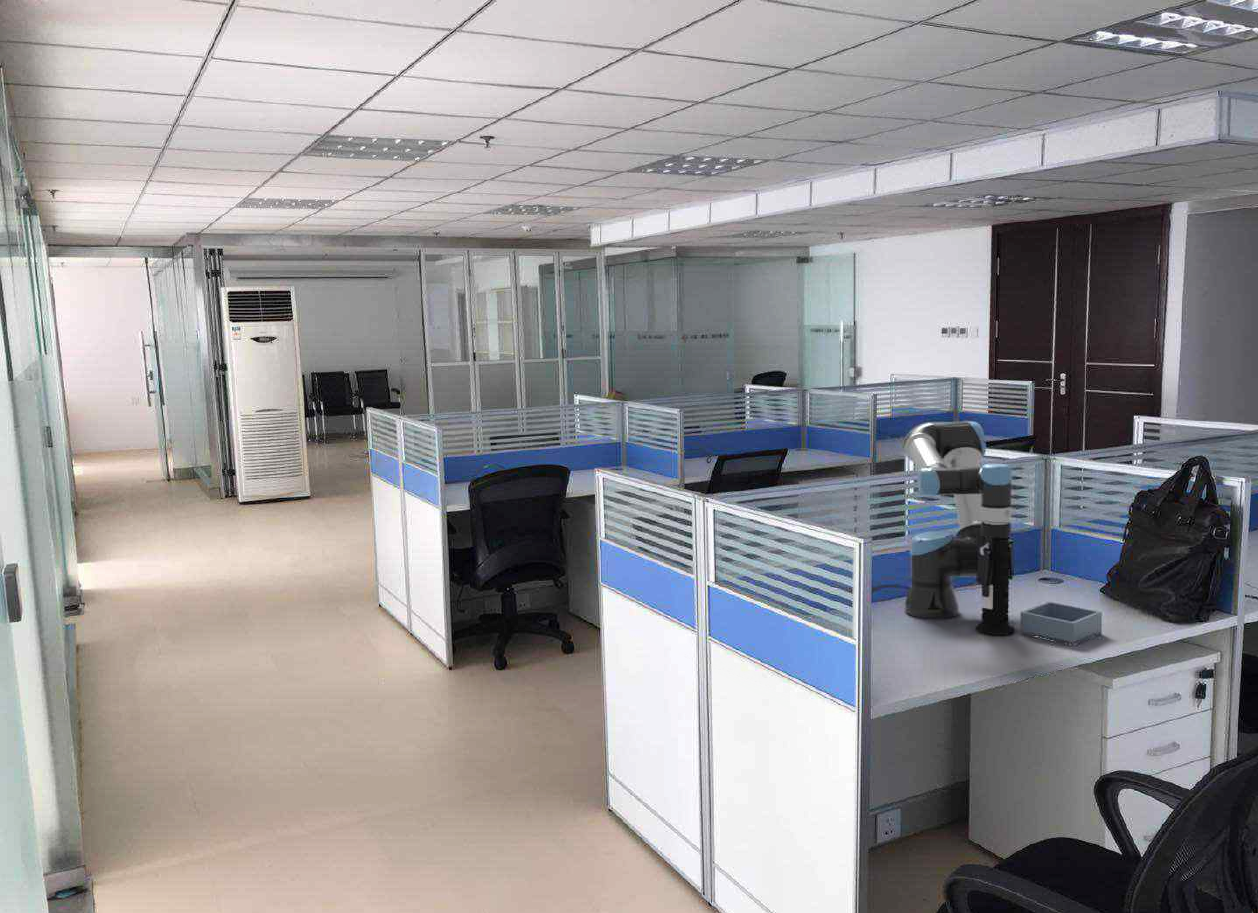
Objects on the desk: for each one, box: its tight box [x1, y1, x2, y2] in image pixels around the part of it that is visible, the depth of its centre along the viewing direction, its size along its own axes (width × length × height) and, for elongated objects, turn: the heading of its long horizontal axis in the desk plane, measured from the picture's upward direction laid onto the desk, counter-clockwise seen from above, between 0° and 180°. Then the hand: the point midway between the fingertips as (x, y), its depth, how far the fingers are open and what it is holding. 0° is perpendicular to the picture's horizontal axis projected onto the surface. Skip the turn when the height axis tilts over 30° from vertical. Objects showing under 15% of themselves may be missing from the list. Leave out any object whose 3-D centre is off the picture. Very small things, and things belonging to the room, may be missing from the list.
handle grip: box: [975, 536, 1016, 636], centre depth 261 cm, size 10×26×10 cm
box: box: [1019, 601, 1103, 646], centre depth 258 cm, size 15×15×6 cm
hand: (995, 605), depth 262 cm, fingers closed on handle grip, 7 cm apart
